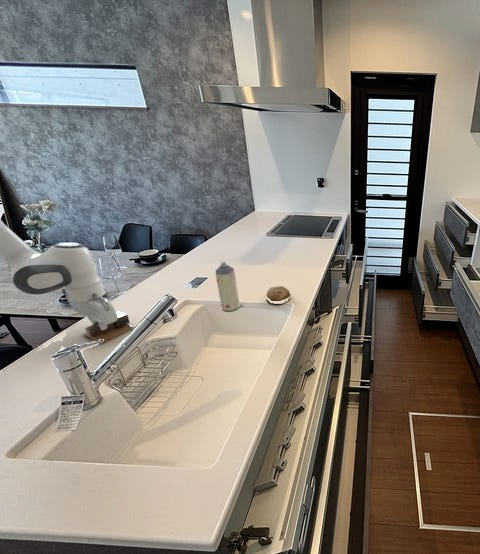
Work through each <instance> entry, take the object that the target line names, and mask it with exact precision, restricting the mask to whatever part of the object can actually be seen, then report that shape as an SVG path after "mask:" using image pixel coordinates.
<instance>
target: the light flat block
mask: <svg viewBox="0 0 480 554" xmlns="http://www.w3.org/2000/svg"><path fill="white" fill-rule="evenodd" d="M133 328H134V326H133V325H131V324H130V323H128V324H126V325H123V326H121V327H119V328H117V327H115V328H112V329H110V330H108V331H106V332H103V333H101V334H99V335H96V336H94V337H90V336H88V334H87V331H85V332H83V335H84V336H86V337H87V338H89V339H92V340H93V341H96V340H99V339H104V341H103V342H102V343H101V344H104V343H106V342H108V341H110V340H113V339H114V338H117V337H118V336H121V335H123V334H125V333H128V332H129V331H132V330H134V329H133ZM96 342H97V341H96Z"/></svg>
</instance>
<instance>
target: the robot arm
mask: <svg viewBox="0 0 480 554" xmlns="http://www.w3.org/2000/svg"><path fill="white" fill-rule="evenodd" d="M0 256H1V257H2V258H3V259H4V260H5V262H6V264H7V266H8V269H9V271H10V273H11V278H12V284H13V285H14V287H15V288H16V289H17V290H19V291H21V292H23V293H25V294H29V295H44V294H47V293H48V294H49V293H52V292H54V291H57V290H60V291H61V293H62V295H64V296H65V298H66V300H67V301H68V303H69V306H70V307H71V308H72V310H73V311H75V312H77V313H79V314H81V315H83V316H85V317H87V319H88V320H89V321H90V322H91V325H94V324H96V323H99V325H98V327H99V329H101V330H105V329H107V325H108V324H111V323H113V322H115V321H117V320H118V316H117V314H116V312H117V311H116V310H115V307H114V305H113V303H112V302H111V301H110V300H109V299H107V298H105V297H104V296H105V294H106V289H105V286H104V284H103V281H102V278H101V276H100V275H99V274H98V266H97V264H96V261H95V259H94V256H93V255H92V252H91V250H90V249H89V248H88V247H87V246H86V245H84V244H83V243H78V242H73V241H71V242H70V241H69V242H66V241H65V242H58V243H54V244H52V245H51V246H50V247H49V248H48V249H47V250H45V251H41V250H39V249H36V248H34V247H32V246H30V245H29V244H28V243H26V242H25V240H23V239H22V238H21V237H20V236H18V234H16V233H15V232H14V231H13V230H12V229H11V228H9V227H8V225H6V224H5V222H3V220H2V218H0Z"/></svg>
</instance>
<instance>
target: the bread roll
mask: <svg viewBox="0 0 480 554" xmlns="http://www.w3.org/2000/svg"><path fill="white" fill-rule="evenodd" d="M266 296H267V297H268V298H269V299H270V300H271V301H281V300H284V299H286V298H288V297H289V296H290V297H291V293H290V290H289V289H288V288H286V287H284V286H281V285H280V286H278V285H277V286H272V287H270V288H269V289H268V290H267V292H266V295H265V297H266Z"/></svg>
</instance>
